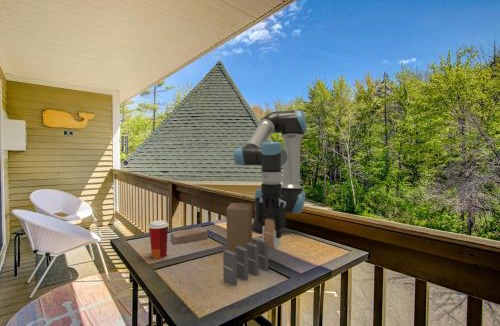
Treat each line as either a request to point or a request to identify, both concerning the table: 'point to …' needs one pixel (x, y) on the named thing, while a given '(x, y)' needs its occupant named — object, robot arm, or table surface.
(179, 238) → the brick
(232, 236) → the wooden block
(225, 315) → the table surface
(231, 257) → the domino
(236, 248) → the domino
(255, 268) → the domino
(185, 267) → the table surface
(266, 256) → the domino
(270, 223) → the head domino
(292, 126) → the robot arm
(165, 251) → the paper cup
